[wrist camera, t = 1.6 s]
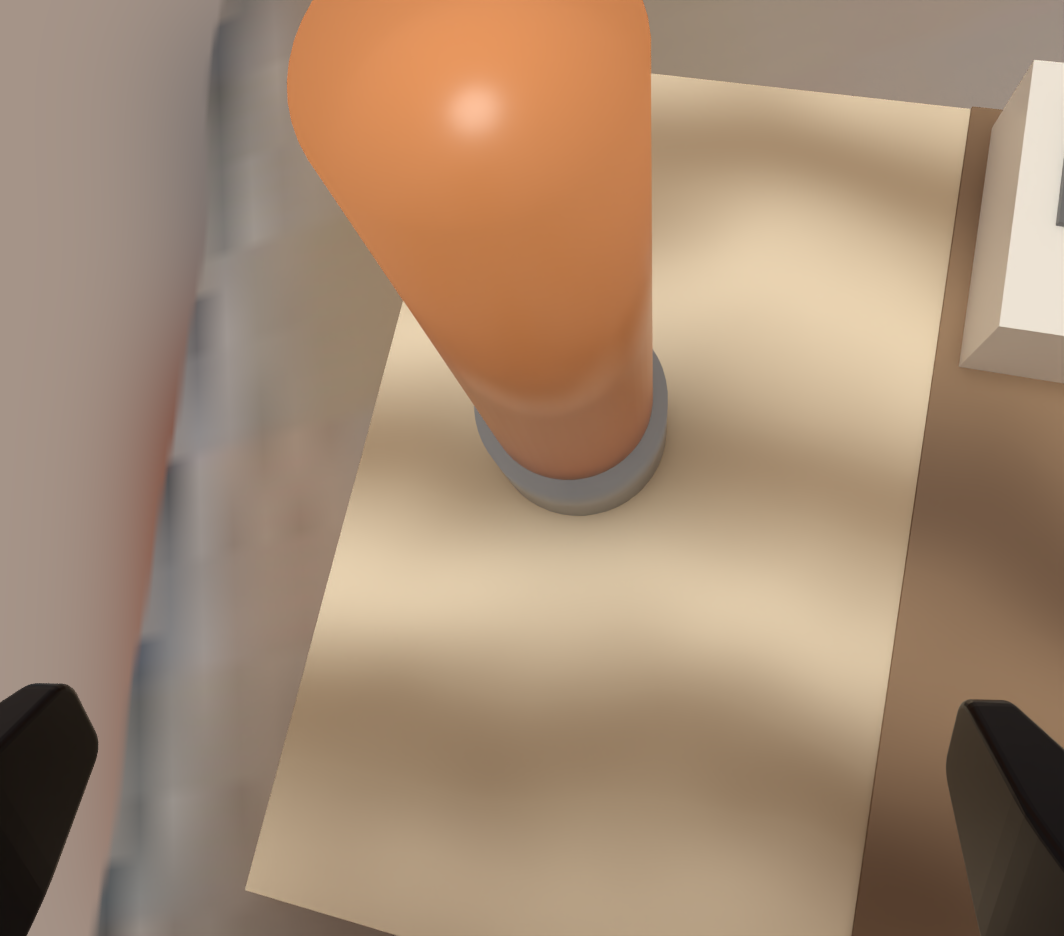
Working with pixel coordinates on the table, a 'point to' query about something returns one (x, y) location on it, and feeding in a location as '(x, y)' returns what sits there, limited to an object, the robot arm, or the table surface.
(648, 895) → the subfloor board
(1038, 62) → the block
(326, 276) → the table surface
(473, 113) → the awl
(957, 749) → the robot arm
